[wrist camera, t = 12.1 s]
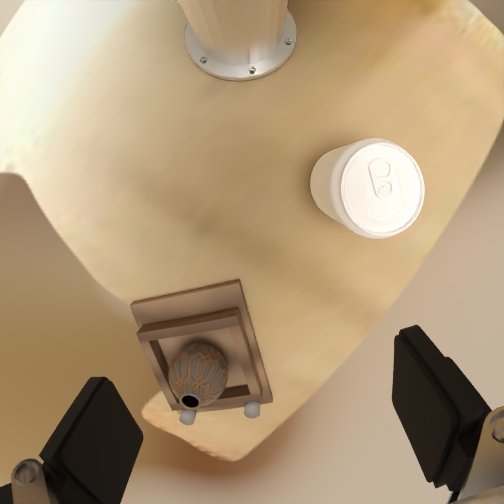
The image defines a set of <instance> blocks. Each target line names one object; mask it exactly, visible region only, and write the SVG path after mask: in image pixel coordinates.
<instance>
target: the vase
mask: <svg viewBox="0 0 504 504" xmlns="http://www.w3.org/2000/svg"><path fill="white" fill-rule="evenodd" d="M227 381H228V367H227V363H226V361H225V358H224V357H223V355H222V354H221V353H220V352H219V351H218V350H217V349H216V348H214V347H212V346H210V345H208V344H204V343H194V344H190V345H188V346H185V347H184V348H182V349H181V350H180V351H179V352H178V353H177V354H176V355H175V356H174V358H173V360H172V362H171V364H170V367H169V384H170V387H171V389H172V391H173V393H174V394H175V395H176V397H177V398H178V399H179V402H180V404H181V405H182V406H183V407H184V408H186V409H189V410H196V409H199V408H200V407H201V406H204V405H207V404H210V403H212V402H214V401H215V400H216V399H218V398H219V396H220V395H221V394H222V393H223V391H224V389H225V387H226V385H227Z"/></svg>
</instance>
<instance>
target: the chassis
mask: <svg viewBox="0 0 504 504" xmlns="http://www.w3.org/2000/svg"><path fill="white" fill-rule="evenodd" d="M130 308H131V310H132V313H133V315H134V318H135V320H136V323H137V325H138V328H139V331H138V332H137V333H136V334H137V336H138V339H139V341H140V343H141V345H142V348H143V350H144V353H145V355H146V357H147V359H148V361H149V364H150V366H151V368H152V370H153V372H154V375H155V377H156V379H157V381H158V383H159V385H160V387H161V389H162V391H163V393H164V395H165V397H166V399H167V401H168V403H169V405H170V407H171V409H172V411H173V410H176V411H177V413H178V414H181V415H180V421H181V422H182V423H183V424H185V425H192V424H193V423H194V420H195V416H196V412H206V411H215V410H224V409H232V408H239V407H245V408H244V414H245V416H246V417H248V418H256V417H258V416H259V415H260V404H266V403H271V402H273V398H272V394H271V390H270V387H269V383H268V380H267V376H266V373H265V369H264V366H263V362H262V359H261V355H260V352H259V348H258V344H257V341H256V337H255V334H254V330H253V327H252V323H251V319H250V316H249V312H248V308H247V305H246V301H245V298H244V294H243V290H242V287H241V283H240V280H235V281H231V282H226V283H222V284H217V285H212V286H208V287H203V288H198V289H194V290H189V291H184V292H179V293H174V294H170V295H165V296H160V297H155V298H150V299H145V300H140V301H135V302H133V303H132V304H131V305H130ZM194 343H204V344H208V345H210V346H212V347H214V348H216V349H217V350H218V351H219V352H220V353H221V354H222V355H223V357H224V358H225V361H226V363H227V367H228V381H227V385H226V387H225V389H224V391H223V393H222V394H221V395H220V396H219V398H218V399H216V400H215V401H214V402H212V403H210V404H207V405H204V406H201V407H200V408H199V409H196V410H189V409H186V408H184V407H183V406H182V405H181V404H180V402H179V399H178V398H177V397H176V395H175V394H174V393H173V391H172V389H171V387H170V384H169V367H170V364H171V362H172V360H173V358H174V356H175V355H176V354H177V353H178V352H179V351H180V350H181V349H182V348H184V347H185V346H188V345H190V344H194Z"/></svg>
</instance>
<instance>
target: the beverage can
mask: <svg viewBox="0 0 504 504" xmlns="http://www.w3.org/2000/svg"><path fill="white" fill-rule="evenodd" d="M310 189H311V193H312V197H313V199H314V201H315V203H316V205H317V206H318V207H319V208H320V210H321V211H322V212H324V213H325V214H326V215H328V216H329V217H331V218H332V219H334V220H336V221H337V222H339V223H340V224H342V225H344V226H345V227H347V228H348V229H350V230H351V231H353V232H355V233H356V234H358V235H361V236H363V237H367V238H373V239H380V238H387V237H390V236H393V235H395V234H397V233H399V232H401V231H403V230H405V229H406V228H407V227H409V226H410V225H411V224H412V223H413V221H414V220H415V219H416V217H417V216H418V214H419V212H420V210H421V207H422V204H423V200H424V181H423V177H422V173H421V171H420V169H419V167H418V165H417V163H416V162H415V160H414V159H413V158H412V157H411V155H410V154H408V153H407V152H406V151H405V150H404V149H403V148H401V147H400V146H399V145H397V144H395V143H393V142H391V141H388V140H385V139H379V138H369V139H364V140H360V141H357V142H354V143H351V144H348V145H345V146H342V147H339V148H336V149H333V150H331V151H329V152H327V153H325V154H324V155H323V156H322V157H321V158H320V159H319V160H318V161H317V162H316V164H315V166H314V168H313V170H312V173H311V178H310Z"/></svg>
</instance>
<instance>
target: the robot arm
mask: <svg viewBox="0 0 504 504" xmlns="http://www.w3.org/2000/svg"><path fill="white" fill-rule="evenodd" d="M178 2H179V4H180V6H181V8H182V10H183V12H184V14H185V16H186V18H187V20H188V24H187V27H186V31H185V44H186V47H187V50H188V53H189V55H190V56H191V58H192V60H193V61H194V62H195V63H196V64H197V65H198V66H199V67H200V68H201V69H202V70H204V71H205V72H207V73H209V74H211V75H213V76H215V77H218V78H221V79H225V80H233V81H246V80H252V79H257V78H260V77H263V76H265V75H268V74H270V73H271V72H273V71H275V70H277V69H278V68H279V67H280V66H281V65H283V64H284V63H285V61H286V60H287V59H288V58H289V57H290V55H291V53H292V51H293V49H294V46H295V43H296V36H297V30H296V24H295V21H294V19H293V16H292V15H291V13H290V12H289V10H288V9H287V5H288V0H178ZM286 43H289V44H290V45H286ZM204 61H206V63H205V64H203V62H204ZM251 71H253V72H254V74H250V72H251ZM392 402H393V406H394V408H395V410H396V412H397V415H398V417H399V419H400V421H401V423H402V425H403V428H404V430H405V432H406V434H407V437H408V439H409V441H410V443H411V445H412V448H413V450H414V452H415V455H416V457H417V459H418V462H419V464H420V466H421V469H422V471H423V473H424V476H425V478H426V480H427V482H429V483H430V482H432V481H433V483H434V486H435V488H438V487H441V486H443V485H445V484H446V485H447V487H448V489H449V491H451V494H450V496H449V499H448V501H447V503H446V504H504V406H502V407H498V408H496V409H495V410H493V411H492V410H491V409H490V407H489V406H488V405H487V403H486V402H485V401H484V399H483V398H482V397H481V395H480V394H479V393H478V392H477V390H476V389H475V388H474V386H473V385H472V384H471V382H470V381H469V380H468V379H467V378H466V376H465V375H464V374H463V372H462V371H461V370H460V369H459V368H458V366H457V365H456V364H455V362H453V360H452V359H451V358H450V357H444V356H443V354H442V353H441V352H440V351H439V349H438V348H437V347H436V346H435V345H434V343H433V342H432V341H431V340H430V338H429V337H428V336H427V335H426V334H425V332H424V331H423V330H422V329H421V328H420V327H419V326H418V325H414V326H411V327H408V328H404V329H401V330H400V332H399V335H396V336H395V339H394V370H393V388H392ZM142 442H143V433H142V431H141V429H140V428H139V426H138V425H137V423H136V421H135V420H134V418H133V417H132V415H131V413H130V412H129V410H128V408H127V407H126V405H125V403H124V402H123V400H122V398H121V396H120V395H119V393H118V391H117V389H116V388H115V386H114V384H113V383H112V382H111V381H109V379H108V378H106V377H91V378H90V379H89V380H88V381H87V383H86V384H85V386H84V387H83V388H82V390H81V391H80V393H79V394H78V396H77V397H76V399H75V400H74V402H73V403H72V405H71V406H70V408H69V409H68V411H67V412H66V414H65V415H64V417H63V418H62V420H61V421H60V423H59V425H58V426H57V427H56V429H55V431H54V432H53V434H52V435H51V437H50V438H49V440H48V442H47V443H46V445H45V446H44V448H43V450H42V451H41V453H40V455H39V456H40V457H41V459H42V460H43V461H44V463H43V464H41V463H40V462H39V461H38V460H36V459H30V458H29V459H25V460H23V461H21V462H20V463H18V464H17V465H16V467H15V468H14V469H13V471H12V474H11V483H9V484H7V485H4V486H2V487H0V504H120V503H121V500H122V497H123V494H124V491H125V488H126V486H127V482H128V480H129V477H130V474H131V472H132V469H133V466H134V463H135V461H136V458H137V455H138V453H139V449H140V447H141V444H142Z"/></svg>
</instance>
